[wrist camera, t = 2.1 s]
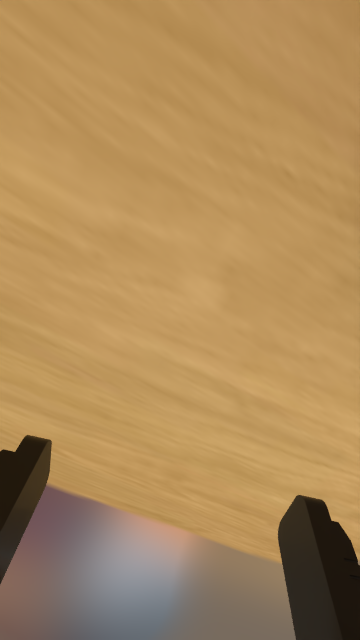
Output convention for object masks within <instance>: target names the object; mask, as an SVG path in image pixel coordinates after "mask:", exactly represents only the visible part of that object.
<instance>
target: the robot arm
mask: <svg viewBox="0 0 360 640" xmlns="http://www.w3.org/2000/svg"><path fill="white" fill-rule="evenodd" d="M51 445H52V442H51V440H48V439H44V438H39V437H35V436H30V435H27V436H25V437H24V439H23V440H22V442H21V443H20V445H19V447H18V448H17V450H16V451H15V452H13V451H8V450H2V451H0V584H1V581H2V579H3V577H4V575H5V573H6V571H7V568H8V566H9V564H10V562H11V560H12V558H13V556H14V554H15V551H16V549H17V547H18V545H19V543H20V540H21V538H22V536H23V534H24V532H25V530H26V528H27V526H28V523H29V521H30V519H31V517H32V515H33V513H34V510H35V508H36V506H37V504H38V502H39V500H40V498H41V495H42V493H43V491H44V488H45V486H46V483H47V480H48V476H49V471H50V459H51ZM278 541H279V547H280V553H281V558H282V564H283V569H284V574H285V581H286V586H287V592H288V597H289V603H290V608H291V613H292V619H293V625H294V630H295V636H296V640H360V565H358V559H357V557H356V554H355V551H354V548H353V546H352V543H351V540H350V539H349V537H348V536H347V534H346V533H345V531H344V530H343V529H342V527H341V526H340V524H339V523H338V522H334V521H331V518H330V515H329V512H328V509H327V506H326V504H325V502H324V501H323V500H320V499H316V498H311V497H306V496H302V495H298V496H296V498H295V499H294V501H293V502H292V504H291V505H290V507H289V509H288V510H287V512H286V513H285V515H284V516H283V518H282V520H281V521H280V524H279V530H278Z"/></svg>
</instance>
